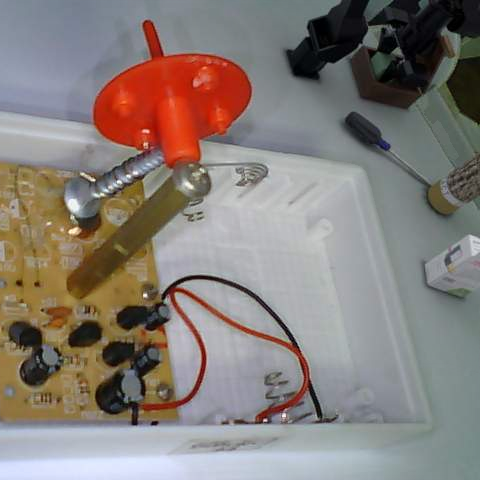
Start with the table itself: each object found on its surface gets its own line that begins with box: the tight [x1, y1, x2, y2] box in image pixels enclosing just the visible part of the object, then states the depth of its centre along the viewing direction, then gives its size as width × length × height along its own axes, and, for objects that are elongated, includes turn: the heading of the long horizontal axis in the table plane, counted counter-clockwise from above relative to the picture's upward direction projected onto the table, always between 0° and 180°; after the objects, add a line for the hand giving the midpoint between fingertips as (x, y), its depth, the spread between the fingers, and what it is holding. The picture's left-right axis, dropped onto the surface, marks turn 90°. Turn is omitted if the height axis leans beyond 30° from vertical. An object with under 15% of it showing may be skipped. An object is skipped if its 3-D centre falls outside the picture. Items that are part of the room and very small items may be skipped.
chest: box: [349, 44, 423, 110], centre depth 168 cm, size 13×11×5 cm
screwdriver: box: [344, 110, 434, 188], centre depth 158 cm, size 26×4×4 cm, turn 65°
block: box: [370, 52, 396, 85], centre depth 166 cm, size 5×5×5 cm
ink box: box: [424, 234, 480, 298], centre depth 142 cm, size 9×5×15 cm, turn 84°
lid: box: [415, 32, 456, 95], centre depth 163 cm, size 13×11×5 cm
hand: (377, 73), depth 167 cm, fingers closed on block, 4 cm apart
